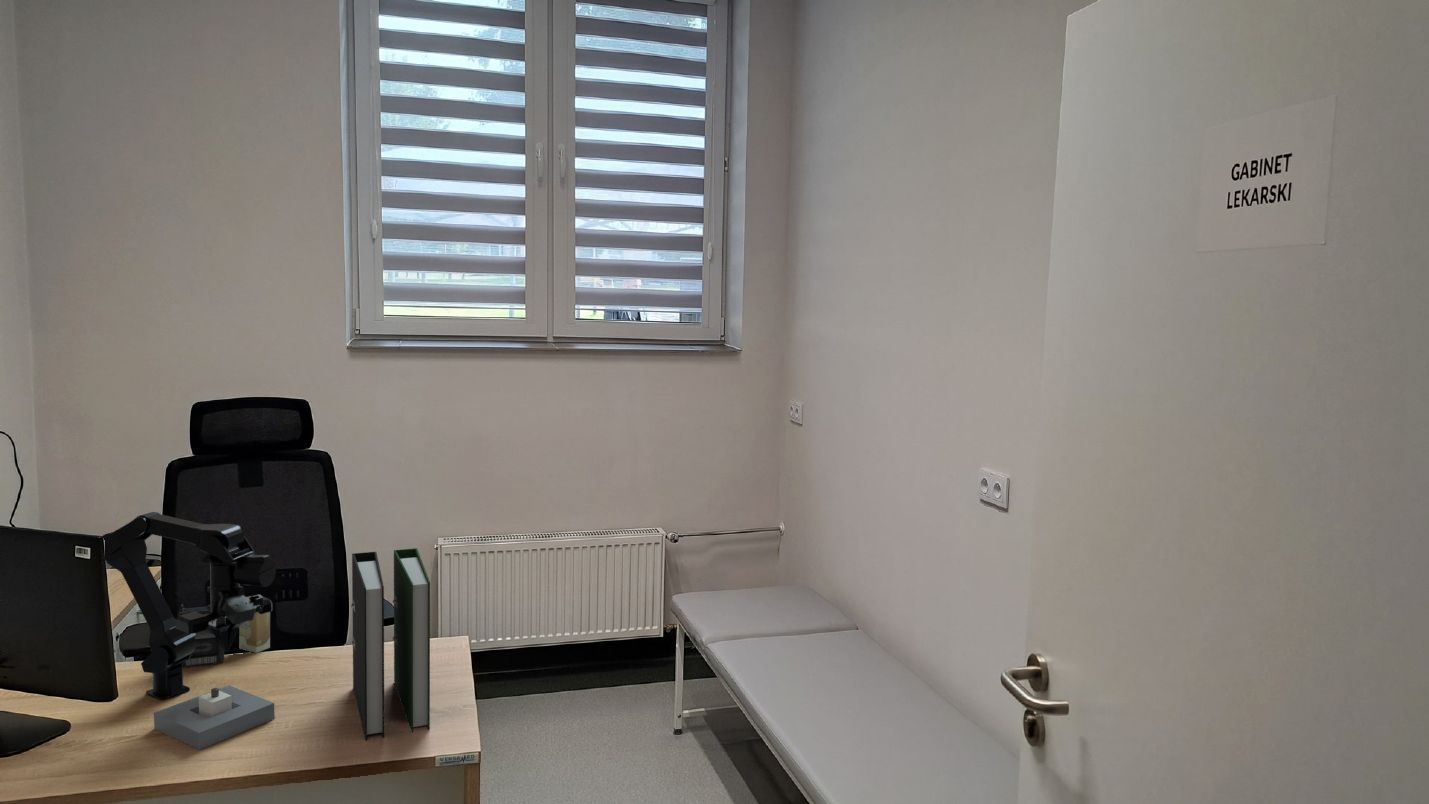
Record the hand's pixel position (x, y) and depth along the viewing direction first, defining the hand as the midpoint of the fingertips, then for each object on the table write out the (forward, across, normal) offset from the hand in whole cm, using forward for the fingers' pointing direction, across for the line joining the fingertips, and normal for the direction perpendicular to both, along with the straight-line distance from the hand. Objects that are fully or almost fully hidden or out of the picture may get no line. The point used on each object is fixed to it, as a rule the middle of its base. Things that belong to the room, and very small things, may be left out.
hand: (226, 650), depth 195 cm
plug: (+10, -8, -10) cm, 16 cm away
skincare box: (+11, +20, +22) cm, 32 cm away
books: (+11, +17, -33) cm, 39 cm away
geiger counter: (+11, +8, +24) cm, 27 cm away
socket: (+11, -8, -10) cm, 17 cm away
